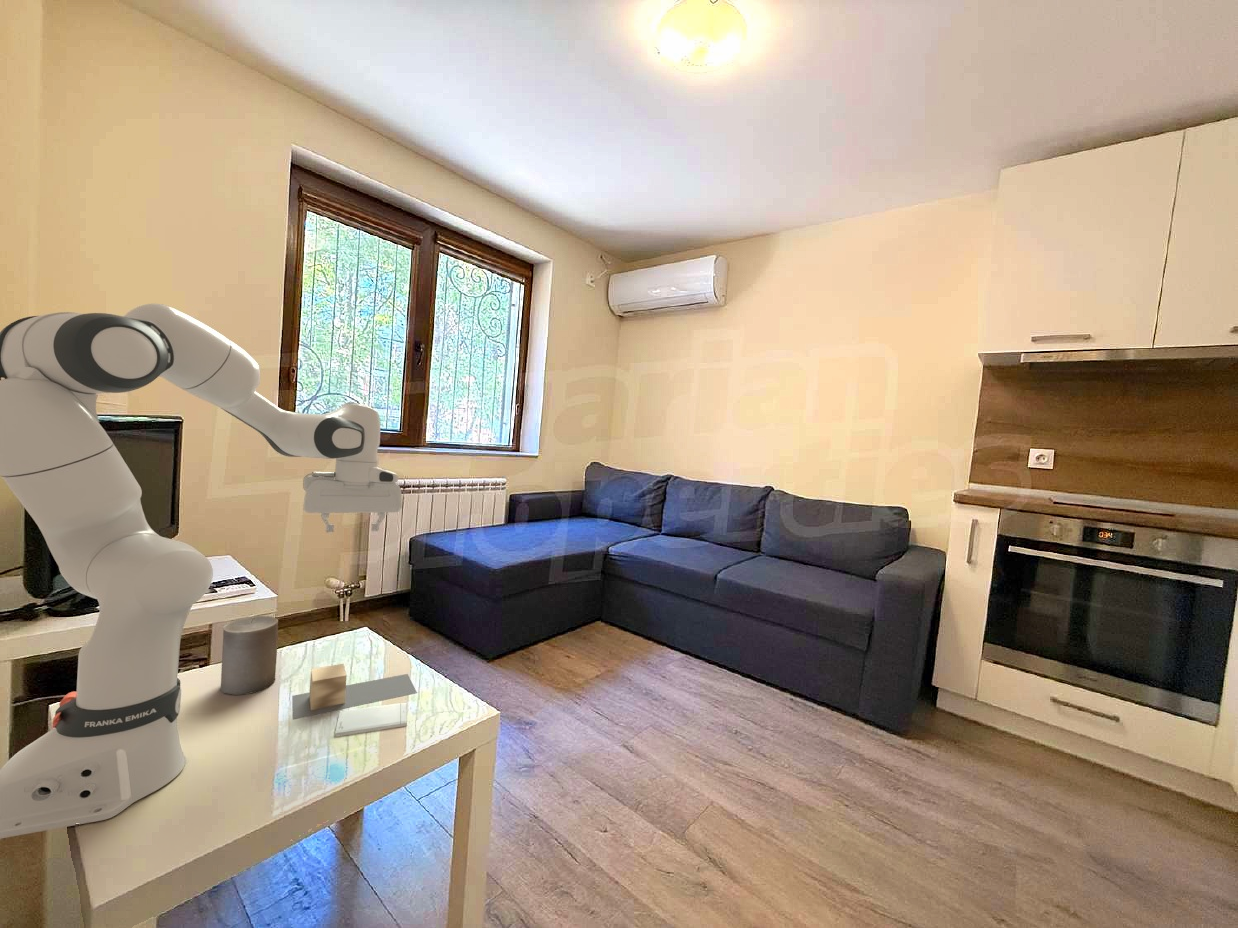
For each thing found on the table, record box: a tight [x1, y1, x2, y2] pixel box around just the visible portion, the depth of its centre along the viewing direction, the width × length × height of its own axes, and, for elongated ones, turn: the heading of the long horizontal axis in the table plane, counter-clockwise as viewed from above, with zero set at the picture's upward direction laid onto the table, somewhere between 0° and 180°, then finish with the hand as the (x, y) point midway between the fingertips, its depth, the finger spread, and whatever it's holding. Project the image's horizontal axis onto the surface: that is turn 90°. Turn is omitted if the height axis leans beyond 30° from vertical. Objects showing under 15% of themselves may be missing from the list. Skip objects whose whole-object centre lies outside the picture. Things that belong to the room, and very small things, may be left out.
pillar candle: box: [220, 615, 279, 696], centre depth 104 cm, size 10×10×15 cm
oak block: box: [309, 663, 348, 710], centre depth 100 cm, size 6×6×6 cm
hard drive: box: [333, 702, 408, 737], centre depth 95 cm, size 2×8×12 cm
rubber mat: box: [292, 673, 418, 721], centre depth 104 cm, size 23×10×1 cm, turn 125°
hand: (352, 531), depth 112 cm, fingers open, 8 cm apart
